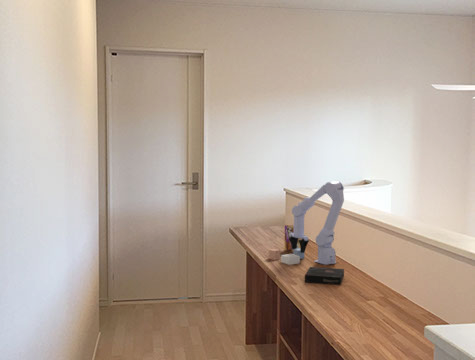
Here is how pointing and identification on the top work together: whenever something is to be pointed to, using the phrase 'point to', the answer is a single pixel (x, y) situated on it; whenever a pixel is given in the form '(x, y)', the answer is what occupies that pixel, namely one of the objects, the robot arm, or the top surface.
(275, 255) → the terracotta block
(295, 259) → the white block
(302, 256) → the slate cube
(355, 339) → the top surface
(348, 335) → the top surface
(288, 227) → the candy box
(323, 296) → the top surface
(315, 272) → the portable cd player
